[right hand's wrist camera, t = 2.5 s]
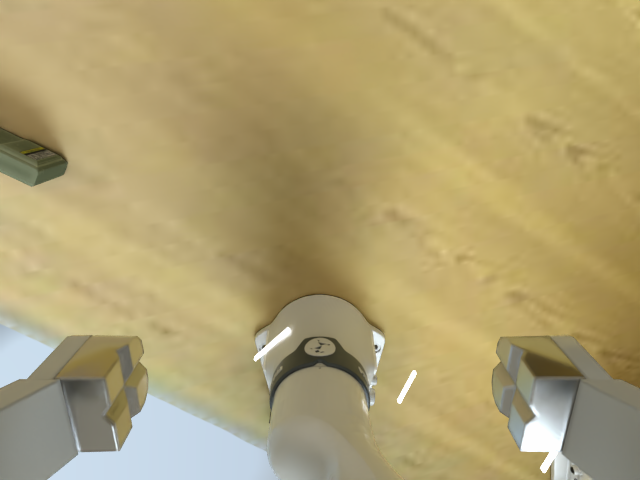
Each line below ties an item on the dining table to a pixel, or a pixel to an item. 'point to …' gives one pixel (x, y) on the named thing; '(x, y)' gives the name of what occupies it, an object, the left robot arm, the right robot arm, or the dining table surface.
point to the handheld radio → (28, 160)
